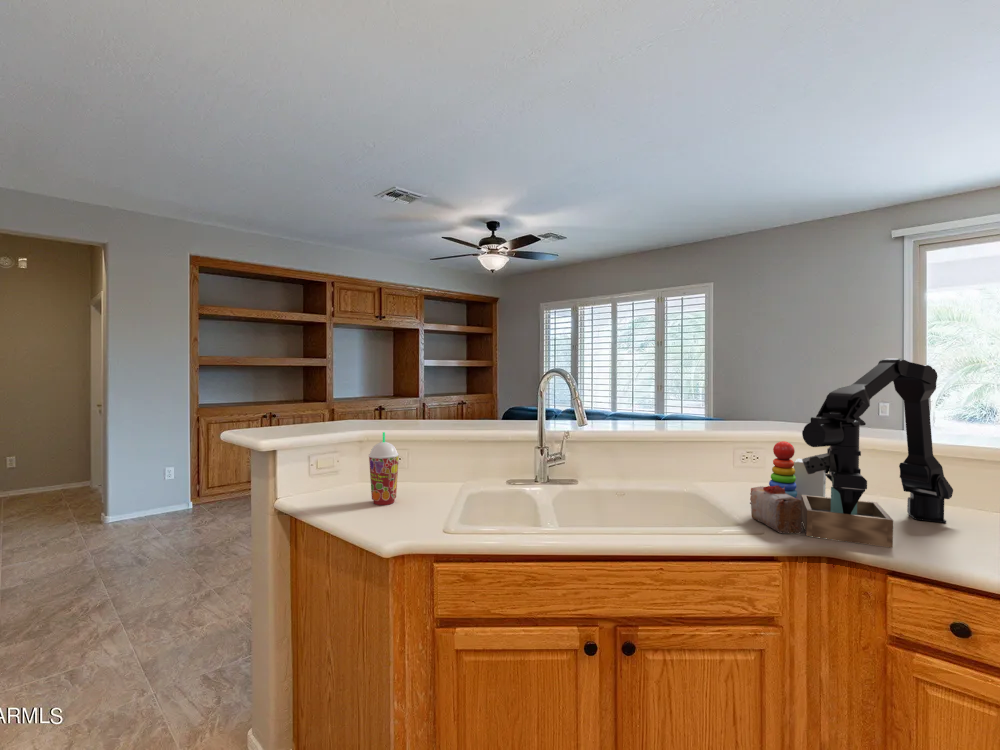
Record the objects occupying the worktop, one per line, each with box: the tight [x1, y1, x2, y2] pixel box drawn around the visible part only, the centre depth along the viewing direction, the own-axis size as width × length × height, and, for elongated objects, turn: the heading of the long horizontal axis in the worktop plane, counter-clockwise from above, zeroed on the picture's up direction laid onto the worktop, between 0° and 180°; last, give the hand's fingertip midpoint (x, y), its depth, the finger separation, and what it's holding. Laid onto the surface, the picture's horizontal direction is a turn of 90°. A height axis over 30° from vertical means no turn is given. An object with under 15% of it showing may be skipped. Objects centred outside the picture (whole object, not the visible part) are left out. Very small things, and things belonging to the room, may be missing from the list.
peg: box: [830, 486, 857, 515], centre depth 122 cm, size 5×5×10 cm
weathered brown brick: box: [749, 485, 803, 534], centre depth 127 cm, size 14×8×10 cm, turn 3°
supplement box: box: [793, 458, 827, 500], centre depth 144 cm, size 7×7×13 cm
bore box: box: [801, 495, 894, 549], centre depth 122 cm, size 16×16×6 cm
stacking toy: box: [768, 440, 798, 499], centre depth 140 cm, size 8×8×19 cm
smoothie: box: [368, 431, 400, 506], centre depth 146 cm, size 8×8×20 cm
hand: (843, 510), depth 122 cm, fingers open, 9 cm apart
